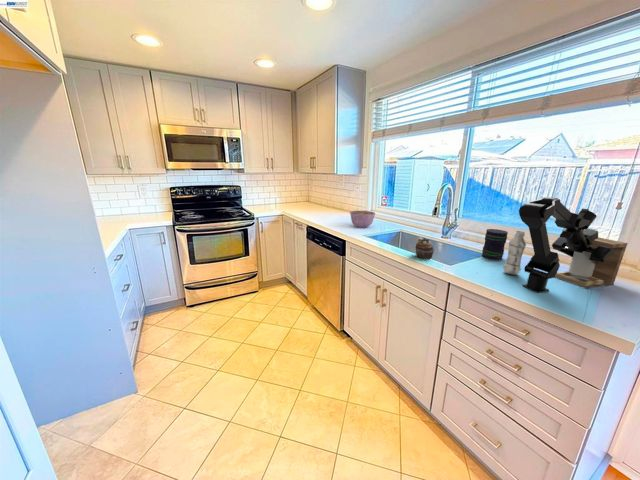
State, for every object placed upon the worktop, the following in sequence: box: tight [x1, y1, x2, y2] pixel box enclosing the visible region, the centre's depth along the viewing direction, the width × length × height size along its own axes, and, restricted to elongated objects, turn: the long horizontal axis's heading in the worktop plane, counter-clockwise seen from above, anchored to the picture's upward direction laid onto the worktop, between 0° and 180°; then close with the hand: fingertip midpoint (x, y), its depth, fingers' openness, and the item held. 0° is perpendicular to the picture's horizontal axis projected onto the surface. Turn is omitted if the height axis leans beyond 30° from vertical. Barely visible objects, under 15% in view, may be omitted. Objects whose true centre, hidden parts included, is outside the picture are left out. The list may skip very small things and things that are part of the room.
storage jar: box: [481, 228, 509, 261], centre depth 145 cm, size 10×10×15 cm
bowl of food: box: [349, 210, 376, 229], centre depth 214 cm, size 20×20×12 cm
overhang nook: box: [554, 236, 628, 289], centre depth 116 cm, size 17×14×18 cm
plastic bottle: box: [502, 230, 527, 276], centre depth 121 cm, size 6×7×20 cm
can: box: [568, 251, 595, 278], centre depth 116 cm, size 8×8×12 cm
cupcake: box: [415, 237, 435, 260], centre depth 144 cm, size 10×10×10 cm
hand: (585, 260), depth 116 cm, fingers closed on can, 7 cm apart
